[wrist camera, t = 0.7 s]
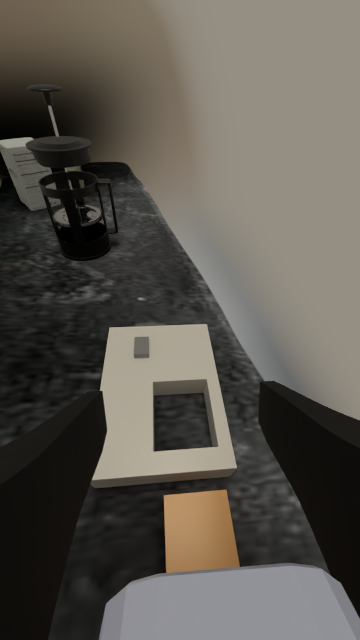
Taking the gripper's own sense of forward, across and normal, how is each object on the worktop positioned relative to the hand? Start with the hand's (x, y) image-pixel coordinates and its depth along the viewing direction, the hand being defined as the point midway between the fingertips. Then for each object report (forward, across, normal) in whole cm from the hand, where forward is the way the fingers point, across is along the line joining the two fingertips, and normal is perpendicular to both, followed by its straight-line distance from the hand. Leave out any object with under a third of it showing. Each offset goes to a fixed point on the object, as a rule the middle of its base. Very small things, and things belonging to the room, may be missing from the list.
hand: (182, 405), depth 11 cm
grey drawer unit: (+58, +31, -21) cm, 69 cm away
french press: (+41, +16, -9) cm, 45 cm away
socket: (+15, +2, +8) cm, 17 cm away
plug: (+4, 0, +15) cm, 16 cm away
